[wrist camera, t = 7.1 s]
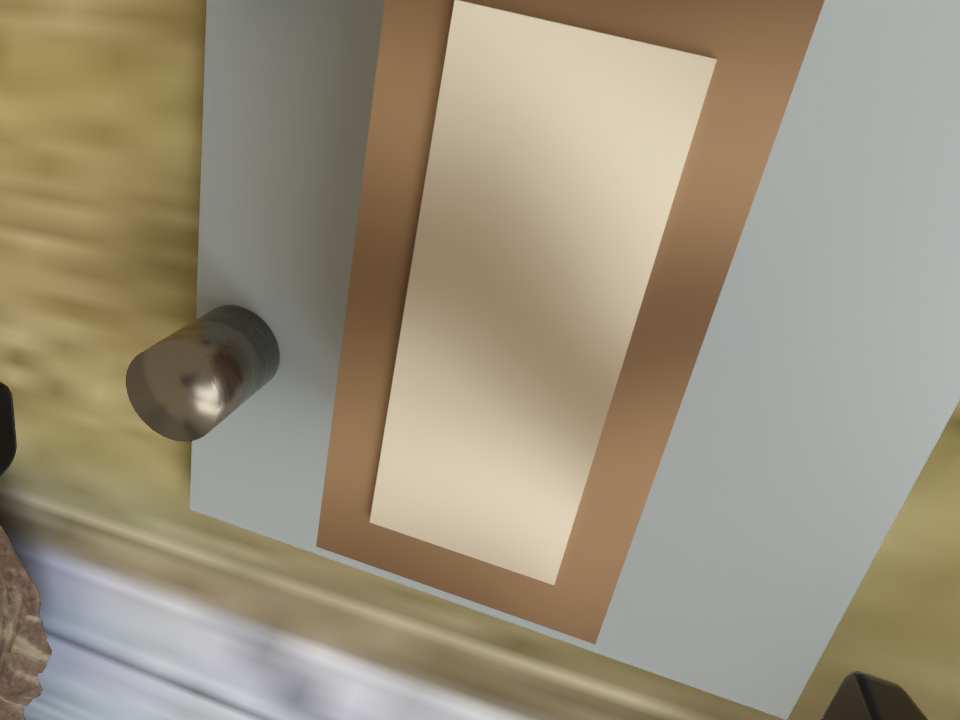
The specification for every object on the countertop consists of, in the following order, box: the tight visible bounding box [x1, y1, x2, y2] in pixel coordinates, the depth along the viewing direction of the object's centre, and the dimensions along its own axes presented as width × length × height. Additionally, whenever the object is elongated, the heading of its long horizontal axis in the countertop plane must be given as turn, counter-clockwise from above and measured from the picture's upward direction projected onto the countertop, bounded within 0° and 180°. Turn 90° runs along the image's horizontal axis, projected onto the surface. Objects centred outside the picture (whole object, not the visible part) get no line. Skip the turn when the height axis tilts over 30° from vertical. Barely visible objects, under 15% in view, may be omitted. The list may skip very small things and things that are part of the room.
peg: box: [126, 305, 280, 441], centre depth 20 cm, size 2×2×3 cm
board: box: [190, 0, 960, 720], centre depth 18 cm, size 22×18×1 cm
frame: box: [316, 0, 825, 644], centre depth 16 cm, size 12×6×5 cm, turn 169°
